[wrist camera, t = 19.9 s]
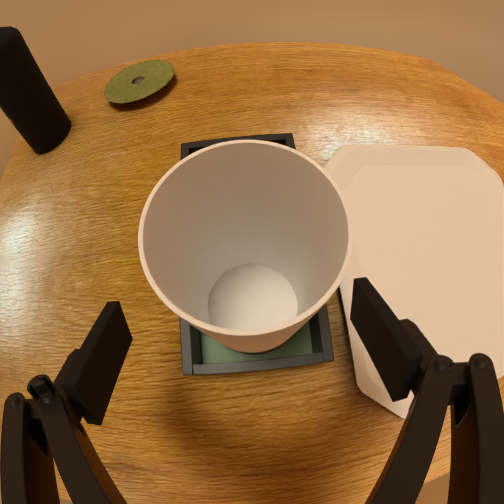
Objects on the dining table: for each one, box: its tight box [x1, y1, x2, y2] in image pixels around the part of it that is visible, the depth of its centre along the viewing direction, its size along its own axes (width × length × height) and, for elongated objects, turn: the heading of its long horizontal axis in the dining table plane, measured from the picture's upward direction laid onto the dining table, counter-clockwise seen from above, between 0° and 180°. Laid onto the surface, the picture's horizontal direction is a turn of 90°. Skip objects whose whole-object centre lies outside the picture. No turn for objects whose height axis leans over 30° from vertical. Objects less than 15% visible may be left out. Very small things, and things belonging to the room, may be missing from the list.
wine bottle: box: [0, 27, 71, 154], centre depth 22 cm, size 8×8×30 cm
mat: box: [104, 60, 174, 103], centre depth 38 cm, size 11×11×2 cm
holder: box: [180, 133, 334, 375], centre depth 26 cm, size 11×21×5 cm, turn 5°
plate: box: [323, 145, 504, 419], centre depth 27 cm, size 29×29×2 cm
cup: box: [138, 140, 354, 354], centre depth 18 cm, size 8×8×16 cm
